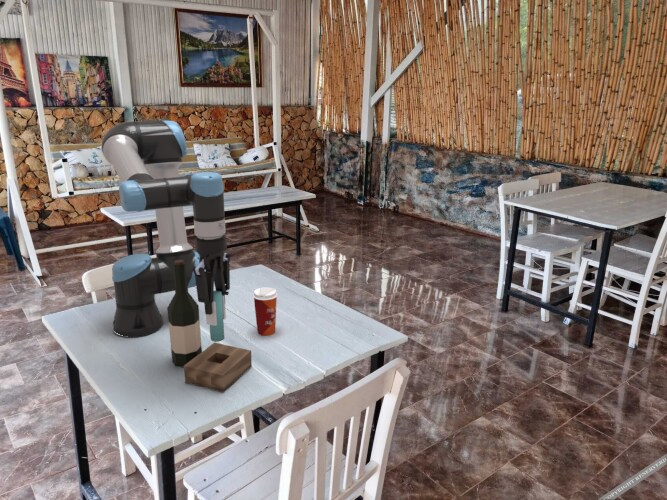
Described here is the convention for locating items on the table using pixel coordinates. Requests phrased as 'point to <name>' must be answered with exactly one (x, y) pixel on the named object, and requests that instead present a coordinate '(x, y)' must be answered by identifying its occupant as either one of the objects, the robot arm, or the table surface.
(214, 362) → the bore block
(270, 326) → the paper cup
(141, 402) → the table surface
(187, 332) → the wine bottle
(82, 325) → the table surface
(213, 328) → the pin
